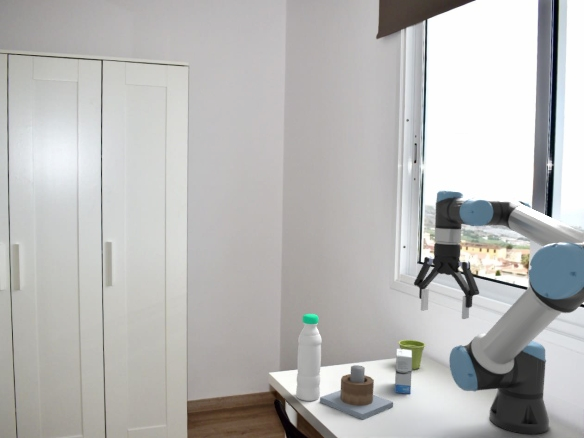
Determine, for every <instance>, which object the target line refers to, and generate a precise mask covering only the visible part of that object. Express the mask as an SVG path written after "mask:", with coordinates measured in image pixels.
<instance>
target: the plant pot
mask: <svg viewBox="0 0 584 438" xmlns="http://www.w3.org/2000/svg"><path fill="white" fill-rule="evenodd" d="M398 345H399V349H405V350H412V370H418V369H420V368H421V362H422V357H423V351H424V349H425V348H424V347H426V343H424V342H423V341H419V340H413V339H404V340H403V339H402V340H399V341H398Z"/></svg>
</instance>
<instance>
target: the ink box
mask: <svg viewBox="0 0 584 438" xmlns="http://www.w3.org/2000/svg"><path fill="white" fill-rule="evenodd" d="M412 370H413V369H412V350H405V349H401V348H396V359H395V374H394V375H395V380H394V382H395V383H394V390H395V391H394V392H395V393H399V394H409V395H410V394H411V392H412Z"/></svg>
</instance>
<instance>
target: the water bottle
mask: <svg viewBox="0 0 584 438" xmlns="http://www.w3.org/2000/svg"><path fill="white" fill-rule="evenodd" d="M319 319H320V318H319V316H318V315H317V314H315V313H307V314H303V316H302V324H303V328H302V329H301V331H300V333H299V335H298V338H297V341H298V347H297V359H296V360H297V362H296V363H297V373H296V374H297V375H296V389H295V390H296V391H295V393H296V394H295V395H296V397H297V399H299V400H301V401H303V402H304V401H305V402H313V401H316V400H318V399H320V397H321V396H320V394H321V392H320V390H321V389H320V384H321V374H320V373H321V364H322V345H321V344H322V341H323V340H322V336H321V334H320V330H319V329H318V324H319Z"/></svg>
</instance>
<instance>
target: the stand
mask: <svg viewBox="0 0 584 438" xmlns="http://www.w3.org/2000/svg"><path fill="white" fill-rule="evenodd" d="M365 368H366V367H364V366H363V365H355V364H354V365H351V366H350V374H351V377H350V381H351V382H355V383H364V375H365V371H366V369H365ZM340 395H341V389H340V390H338V391H334V392H331V393H328V394H325V395H323V396H319V403H320V404H323V405H326V406H328V407H331V408H334V409H335V410H339V411H341V412H343V413H345V414H348V415H351V416H353V417H356V418H357V419H361V420H365V419H368V418H370V417H372V416H374V415H377V414H380V413H382V412H385V411H386V410H389V409H391V408H394V401H392V400H389V399H387V398H383V397H380V396H378V395H375V394H373V401H372V403H371V404H369V405H364V406H356V405H349V404H347V403H344V402H343V401H342V400H341V399H340Z"/></svg>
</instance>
